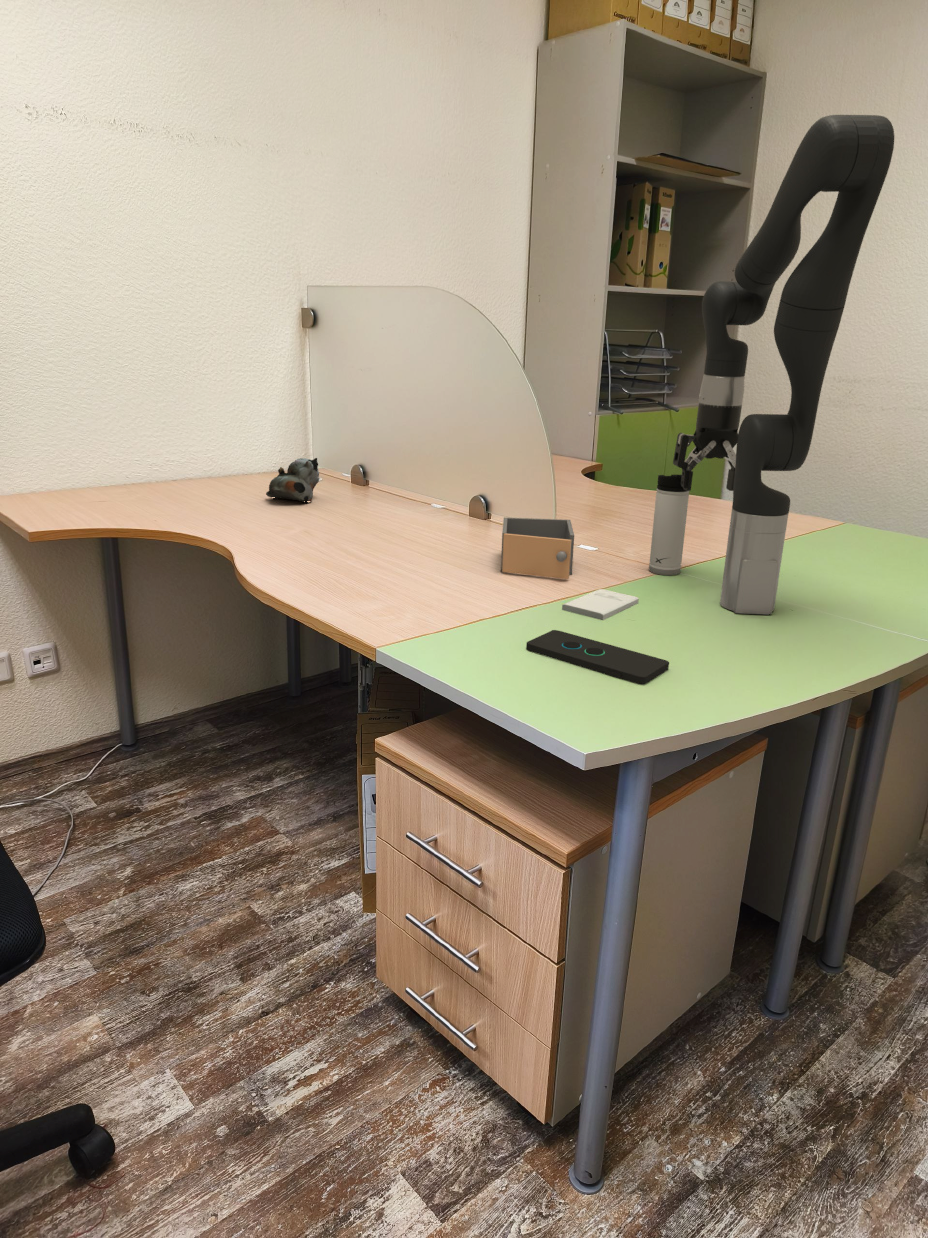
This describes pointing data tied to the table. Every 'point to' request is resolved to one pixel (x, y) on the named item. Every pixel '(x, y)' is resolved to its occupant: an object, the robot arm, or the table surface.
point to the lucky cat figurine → (296, 481)
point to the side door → (536, 556)
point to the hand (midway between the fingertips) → (708, 490)
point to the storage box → (539, 530)
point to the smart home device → (598, 656)
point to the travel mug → (668, 526)
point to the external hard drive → (600, 604)
